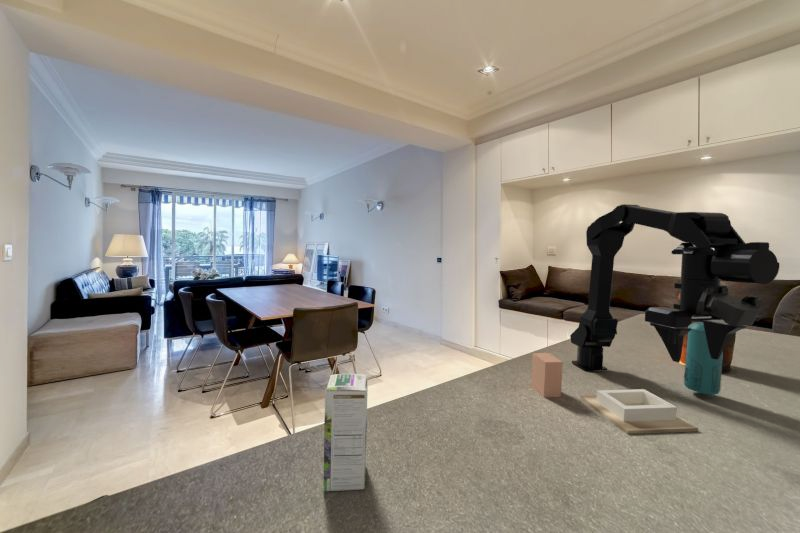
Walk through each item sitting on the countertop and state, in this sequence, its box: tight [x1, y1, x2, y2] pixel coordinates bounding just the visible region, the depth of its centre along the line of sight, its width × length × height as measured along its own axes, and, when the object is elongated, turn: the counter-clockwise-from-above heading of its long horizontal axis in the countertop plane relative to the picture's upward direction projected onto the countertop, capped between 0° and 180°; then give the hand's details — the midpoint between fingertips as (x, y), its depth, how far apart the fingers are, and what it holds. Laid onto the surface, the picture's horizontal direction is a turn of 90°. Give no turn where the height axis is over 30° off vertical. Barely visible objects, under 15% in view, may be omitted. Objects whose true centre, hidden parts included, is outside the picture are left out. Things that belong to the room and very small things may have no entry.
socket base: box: [580, 394, 699, 435], centre depth 71 cm, size 14×14×1 cm
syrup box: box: [323, 373, 369, 492], centre depth 50 cm, size 6×6×14 cm
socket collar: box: [596, 388, 678, 422], centre depth 70 cm, size 8×11×2 cm
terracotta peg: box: [530, 352, 564, 398], centre depth 80 cm, size 6×4×8 cm, turn 5°
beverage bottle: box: [683, 315, 723, 396], centre depth 79 cm, size 6×7×20 cm
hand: (695, 360), depth 66 cm, fingers open, 9 cm apart
